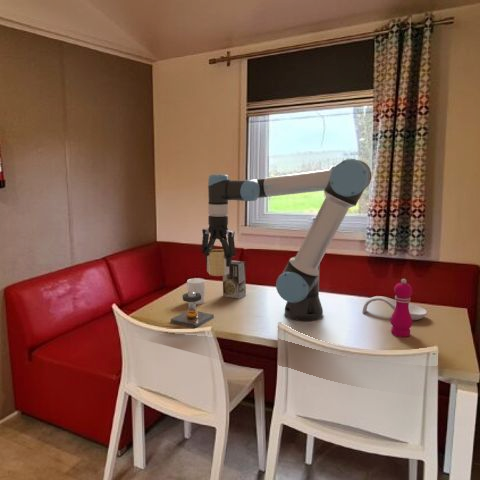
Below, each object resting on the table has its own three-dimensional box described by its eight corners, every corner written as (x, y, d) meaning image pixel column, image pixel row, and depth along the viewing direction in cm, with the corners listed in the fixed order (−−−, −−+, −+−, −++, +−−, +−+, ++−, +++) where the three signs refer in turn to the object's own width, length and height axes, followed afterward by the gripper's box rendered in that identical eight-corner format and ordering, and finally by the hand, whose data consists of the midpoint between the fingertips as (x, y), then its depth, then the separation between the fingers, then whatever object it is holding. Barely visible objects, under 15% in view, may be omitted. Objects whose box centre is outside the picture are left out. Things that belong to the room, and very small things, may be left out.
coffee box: (246, 295, 187) (246, 261, 184) (239, 299, 181) (238, 264, 179) (230, 292, 192) (229, 259, 189) (222, 296, 186) (221, 262, 183)
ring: (204, 297, 157) (204, 294, 156) (193, 302, 151) (193, 298, 151) (190, 295, 160) (189, 291, 160) (179, 300, 154) (179, 296, 154)
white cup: (207, 299, 181) (206, 278, 179) (203, 305, 173) (203, 283, 172) (189, 299, 182) (189, 277, 180) (185, 305, 174) (185, 282, 172)
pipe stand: (213, 317, 159) (213, 290, 157) (196, 327, 149) (195, 299, 147) (189, 312, 165) (188, 286, 163) (170, 322, 155) (169, 294, 153)
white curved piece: (425, 315, 160) (427, 297, 159) (427, 325, 150) (428, 307, 148) (364, 307, 169) (365, 291, 168) (361, 317, 159) (362, 299, 157)
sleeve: (230, 272, 160) (230, 250, 158) (220, 276, 153) (220, 253, 152) (215, 270, 163) (215, 248, 162) (205, 274, 157) (205, 251, 156)
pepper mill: (406, 329, 145) (409, 275, 142) (415, 337, 138) (419, 281, 135) (386, 329, 145) (389, 276, 142) (394, 338, 138) (398, 281, 135)
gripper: (245, 215, 152) (244, 274, 156) (202, 212, 162) (203, 267, 167) (235, 217, 146) (234, 278, 150) (191, 214, 156) (192, 271, 160)
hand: (218, 272), depth 158 cm, fingers closed on sleeve, 7 cm apart
